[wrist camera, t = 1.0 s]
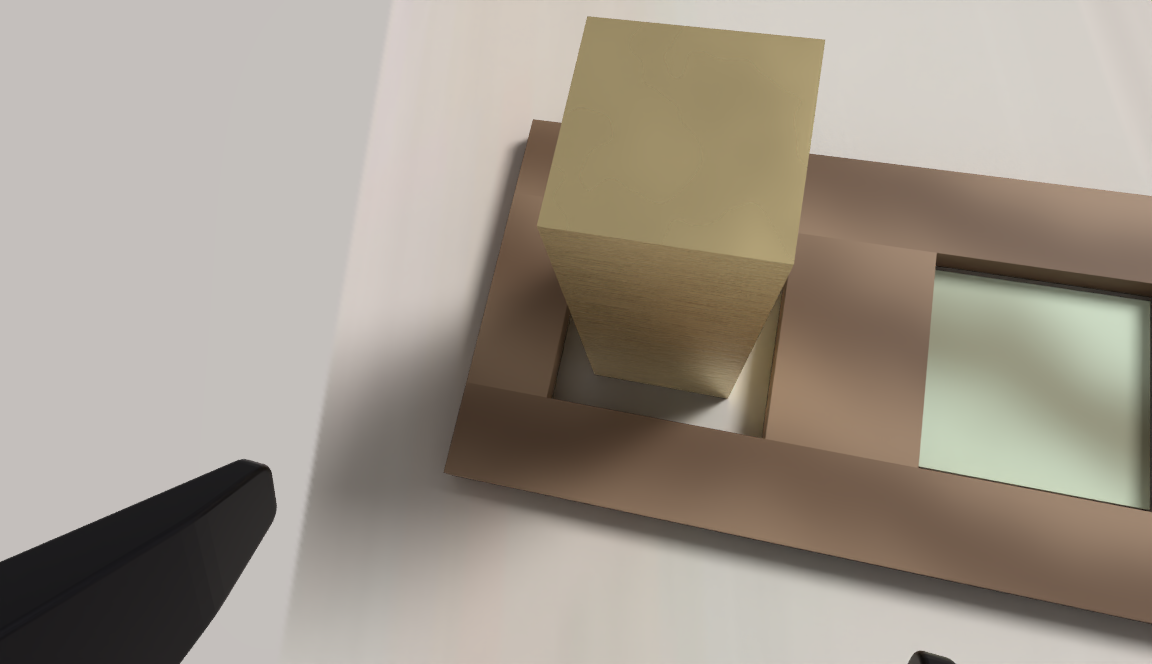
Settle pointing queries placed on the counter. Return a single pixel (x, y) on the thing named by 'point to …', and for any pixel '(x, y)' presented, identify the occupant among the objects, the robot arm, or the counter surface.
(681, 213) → the tall khaki block
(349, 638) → the counter surface
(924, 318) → the brown double frame
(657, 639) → the counter surface
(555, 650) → the counter surface
